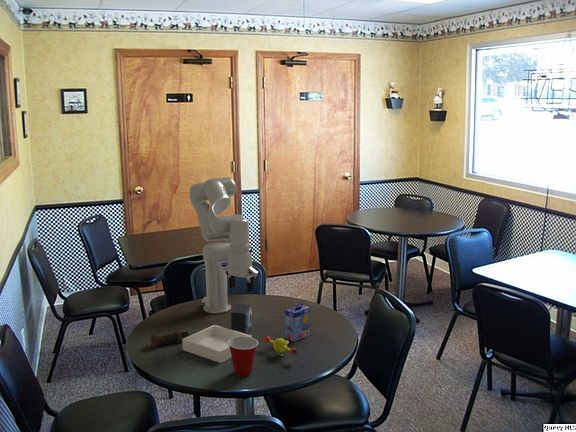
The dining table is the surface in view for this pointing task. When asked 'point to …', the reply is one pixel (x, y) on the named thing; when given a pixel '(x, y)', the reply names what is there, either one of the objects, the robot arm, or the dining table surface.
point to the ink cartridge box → (297, 322)
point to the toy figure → (280, 345)
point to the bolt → (168, 338)
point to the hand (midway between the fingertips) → (241, 289)
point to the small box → (241, 318)
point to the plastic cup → (242, 354)
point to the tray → (211, 343)
